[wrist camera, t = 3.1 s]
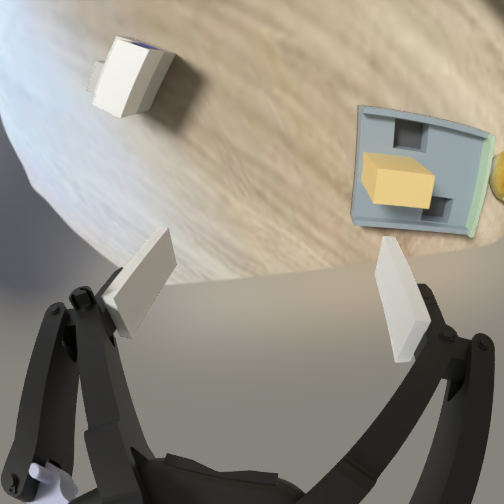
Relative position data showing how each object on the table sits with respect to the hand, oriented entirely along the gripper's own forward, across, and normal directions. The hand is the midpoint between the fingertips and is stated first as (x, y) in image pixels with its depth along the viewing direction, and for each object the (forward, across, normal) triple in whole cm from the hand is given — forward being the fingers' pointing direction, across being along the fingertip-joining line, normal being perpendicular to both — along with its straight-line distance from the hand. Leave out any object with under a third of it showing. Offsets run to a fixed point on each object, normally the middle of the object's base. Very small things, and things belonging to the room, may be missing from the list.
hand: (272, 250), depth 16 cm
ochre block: (+22, +13, -1) cm, 26 cm away
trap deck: (+25, +19, -1) cm, 31 cm away
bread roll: (+25, +37, +1) cm, 44 cm away
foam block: (+26, -25, +13) cm, 38 cm away
